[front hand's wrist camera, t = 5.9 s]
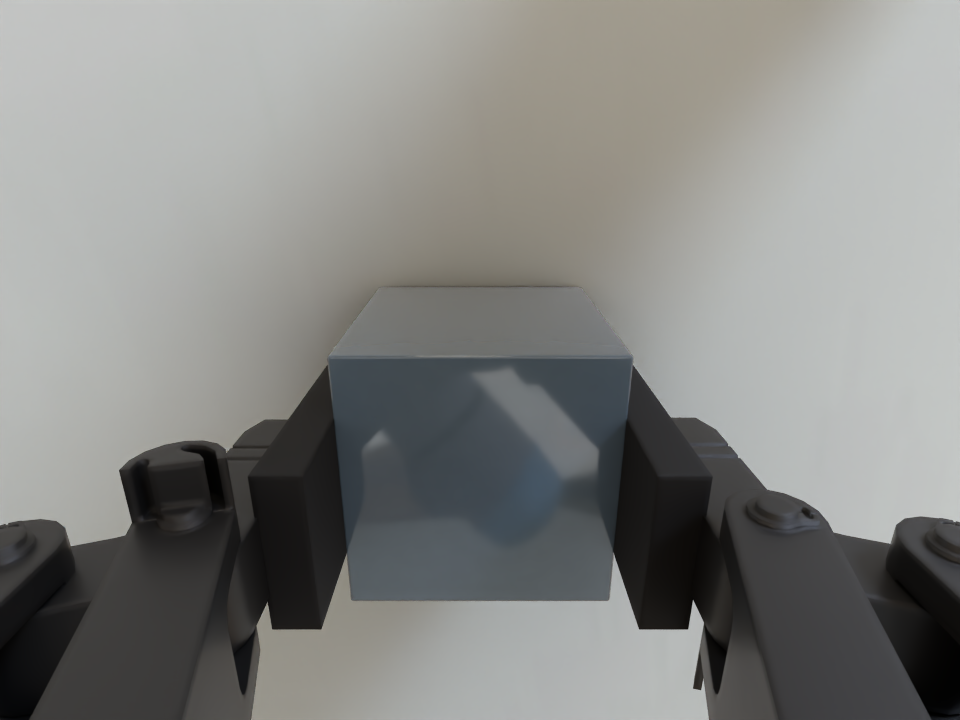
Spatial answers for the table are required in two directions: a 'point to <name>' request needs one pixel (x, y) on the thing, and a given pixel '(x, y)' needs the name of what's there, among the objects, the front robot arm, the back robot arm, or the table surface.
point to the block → (480, 444)
